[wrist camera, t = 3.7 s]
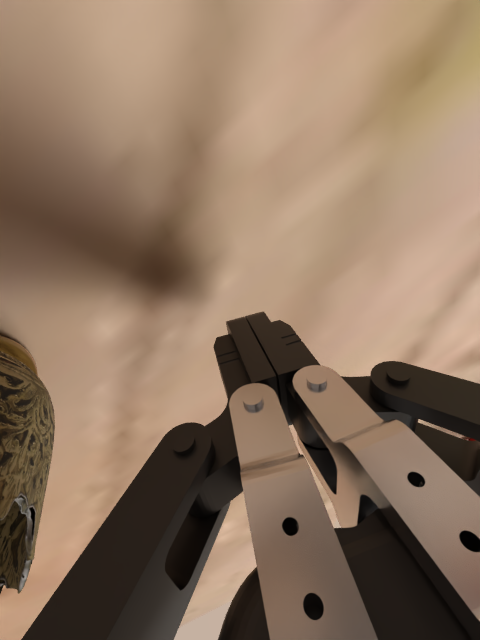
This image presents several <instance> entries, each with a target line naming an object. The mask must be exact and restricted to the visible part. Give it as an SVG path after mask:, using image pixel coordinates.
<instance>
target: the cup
mask: <svg viewBox="0 0 480 640" xmlns="http://www.w3.org/2000/svg"><path fill="white" fill-rule="evenodd" d="M54 430H55V420H54V409H53V405H52V402H51V398H50V395H49V393H48V391H47V389H46V388H45V386H44V384H43V383H42V381H41V380H40V379H39V377H38V374H37V367H36V364H35V361H34V359H33V357H32V355H31V354H30V353H29V352H28V351H27V350H26V349H25V348H24V347H23V346H22V345H20V344H19V343H17V342H15V341H14V340H11V339H9V338H7V337H4V336H0V593H1V591H2V588H3V586H4V585H5V586H6V588H13V589H17V590H18V594H19V593H20V592H21V591H22V589H23V587H24V585H25V582H26V580H27V577H28V573H29V570H30V567H31V564H32V560H33V559H34V553H35V545H36V539H37V533H38V528H39V523H40V517H41V512H42V507H43V502H44V496H45V491H46V486H47V480H48V475H49V469H50V463H51V457H52V450H53V442H54Z"/></svg>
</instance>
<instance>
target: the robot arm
mask: <svg viewBox="0 0 480 640" xmlns="http://www.w3.org/2000/svg"><path fill="white" fill-rule="evenodd" d="M226 325H227V330H228V335H224V336H221V337H217V338H216V341H215V344H214V351H215V354H216V358H217V362H218V366H219V370H220V373H221V377H222V381H223V384H224V387H225V391H226V394H227V398H228V403H227V406H226V408H225V410H224V411H223V413H222V414H221V415H220V416H219V417H218V418H216V419H215V420H214V421H212V422H211V423H209V424H208V425H206V426H203V425H201V424H199V423H184V424H181V425H178V426H176V427H175V428H173V429H172V430H170V431H169V432H168V433H167V434H166V435H165V436H164V437H163V439H162V440H161V442H160V443H159V444H158V446H157V447H156V449H155V450H154V452H153V453H152V454H151V456H150V457H149V459H148V460H147V461H146V463H145V464H144V466H143V467H142V469H141V470H140V471H139V473H138V474H137V476H136V477H135V479H134V480H133V481H132V483H131V484H130V486H129V487H128V489H127V490H126V491H125V493H124V494H123V496H122V497H121V498H120V500H119V501H118V503H117V504H116V506H115V507H114V508H113V510H112V511H111V513H110V514H109V516H108V517H107V518H106V520H105V521H104V523H103V524H102V526H101V527H100V528H99V530H98V531H97V533H96V534H95V535H94V537H93V538H92V540H91V541H90V543H89V544H88V545H87V547H86V548H85V550H84V551H83V553H82V554H81V555H80V557H79V558H78V560H77V561H76V563H75V564H74V565H73V567H72V568H71V570H70V571H69V572H68V574H67V575H66V577H65V578H64V580H63V581H62V582H61V584H60V585H59V587H58V588H57V590H56V591H55V592H54V594H53V595H52V597H51V598H50V600H49V601H48V602H47V604H46V605H45V607H44V608H43V609H42V611H41V612H40V614H39V615H38V617H37V618H36V619H35V621H34V622H33V624H32V625H31V627H30V628H29V629H28V631H27V632H26V634H25V635H24V637H23V638H22V639H21V640H174V637H175V635H176V633H177V630H178V628H179V625H180V623H181V621H182V618H183V616H184V614H185V611H186V609H187V606H188V604H189V602H190V599H191V597H192V594H193V592H194V590H195V587H196V585H197V583H198V580H199V578H200V575H201V573H202V571H203V568H204V566H205V563H206V561H207V559H208V556H209V554H210V552H211V549H212V547H213V544H214V542H215V540H216V537H217V535H218V533H219V530H220V528H221V525H222V523H223V521H224V518H225V516H226V513H227V511H228V509H229V506H230V501H231V500H233V499H234V498H235V497H236V496H238V495H239V494H240V493H241V492H244V498H245V503H246V509H247V514H248V520H249V526H250V531H251V537H252V542H253V548H254V553H255V559H256V564H257V567H256V568H255V569H254V570H253V571H252V572H251V573H250V574H249V575H248V577H247V578H246V579H245V581H244V582H243V584H242V585H241V586H240V588H239V589H238V591H237V593H236V595H235V597H234V598H233V600H232V602H231V605H230V607H229V609H228V612H227V614H226V617H225V620H224V622H223V625H222V629H221V632H220V635H219V638H218V640H480V384H478V383H474V382H471V381H467V380H464V379H460V378H456V377H453V376H449V375H446V374H442V373H439V372H435V371H431V370H428V369H424V368H421V367H417V366H413V365H410V364H406V363H402V362H396V361H387V362H382V363H379V364H378V365H376V366H375V367H374V368H373V369H372V371H371V376H364V377H342V376H340V375H339V374H338V373H337V372H335V371H334V370H333V369H331V368H328V367H325V366H321V365H320V364H319V363H318V361H317V360H316V359H315V357H314V356H313V355H312V354H311V352H310V351H309V350H308V348H307V347H306V346H305V344H304V343H303V342H302V341H301V339H300V338H299V337H298V335H296V333H295V331H294V330H293V329H292V327H291V326H290V325H288V324H286V323H284V322H283V321H281V320H278V321H274V322H271V321H270V320H269V319H268V317H267V316H266V314H265V313H264V312H259V313H256V314H252V315H248V316H245V317H241V318H238V319H234V320H230V321H227V322H226ZM418 419H421V420H424V421H426V422H429V423H432V424H434V425H437V426H440V427H442V428H445V429H448V430H451V431H453V432H456V433H459V434H461V435H464V436H467V437H470V438H472V439H475V440H476V441H467V440H463V439H460V438H458V437H455V436H452V435H450V434H447V433H444V432H442V431H439V430H436V429H434V428H431V427H428V426H426V425H423V424H420V423H418ZM292 424H293V426H294V428H295V430H296V432H297V437H298V444H299V446H300V448H301V450H302V452H303V453H304V455H305V457H306V459H307V460H308V462H309V464H310V465H311V467H312V469H313V470H314V472H315V474H316V476H317V477H318V479H319V481H320V482H321V484H322V486H323V488H324V489H325V491H326V493H327V494H328V496H329V498H330V500H331V502H332V504H333V506H334V509H335V512H336V516H337V519H338V521H339V524H340V526H341V528H333V525H332V523H331V520H330V518H329V515H328V513H327V510H326V508H325V505H324V503H323V500H322V498H321V495H320V493H319V490H318V488H317V485H316V483H315V480H314V478H313V475H312V472H311V470H310V467H309V465H308V463H307V461H306V459H305V457H304V456H303V455H300V453H299V451H298V449H297V447H296V444H295V441H294V439H293V436H292V434H291V431H290V428H289V425H292Z"/></svg>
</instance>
